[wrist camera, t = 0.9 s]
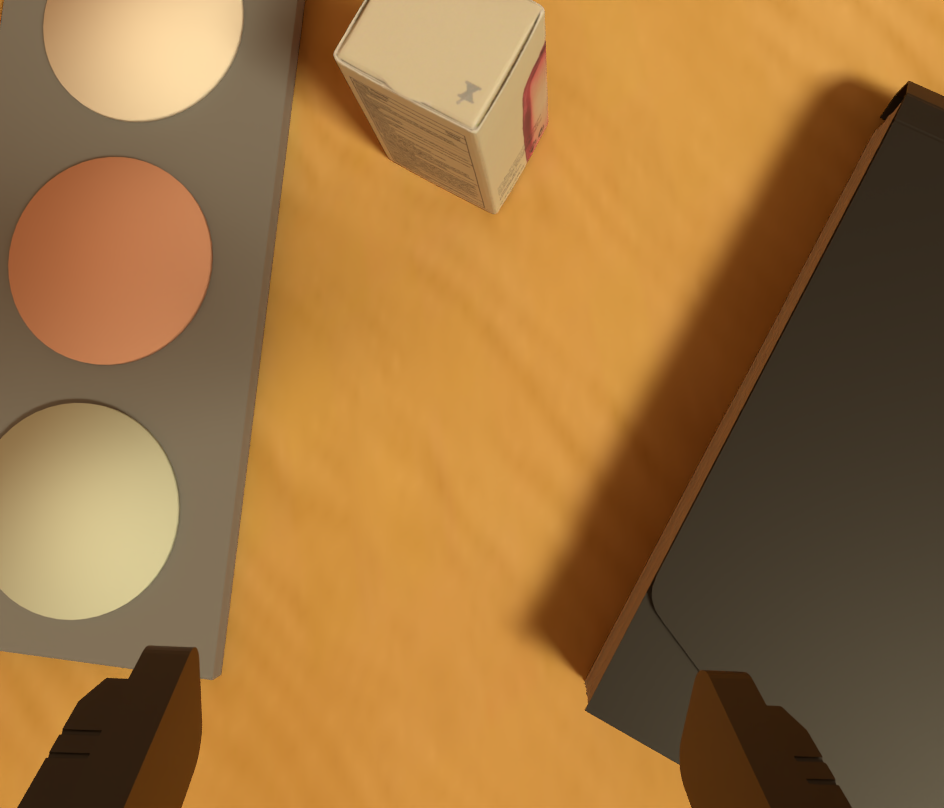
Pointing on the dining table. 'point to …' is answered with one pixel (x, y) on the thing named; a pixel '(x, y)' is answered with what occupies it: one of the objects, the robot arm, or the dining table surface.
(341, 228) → the dining table surface
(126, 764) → the robot arm
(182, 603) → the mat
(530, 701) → the dining table surface
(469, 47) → the small box
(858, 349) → the file folder
